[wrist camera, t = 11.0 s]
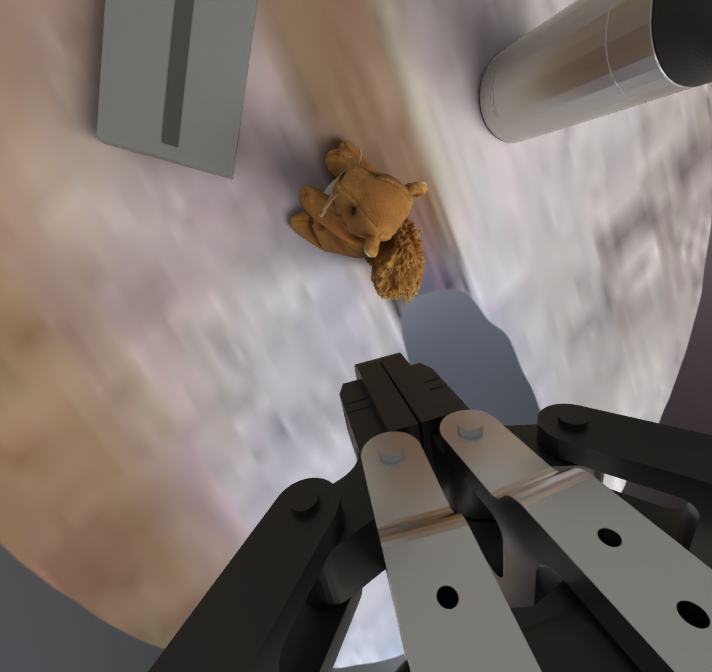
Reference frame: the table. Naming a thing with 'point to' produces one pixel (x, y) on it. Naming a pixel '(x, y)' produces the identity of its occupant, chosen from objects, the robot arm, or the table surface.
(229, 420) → the table surface
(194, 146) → the fader panel
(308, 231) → the stuffed squirrel
